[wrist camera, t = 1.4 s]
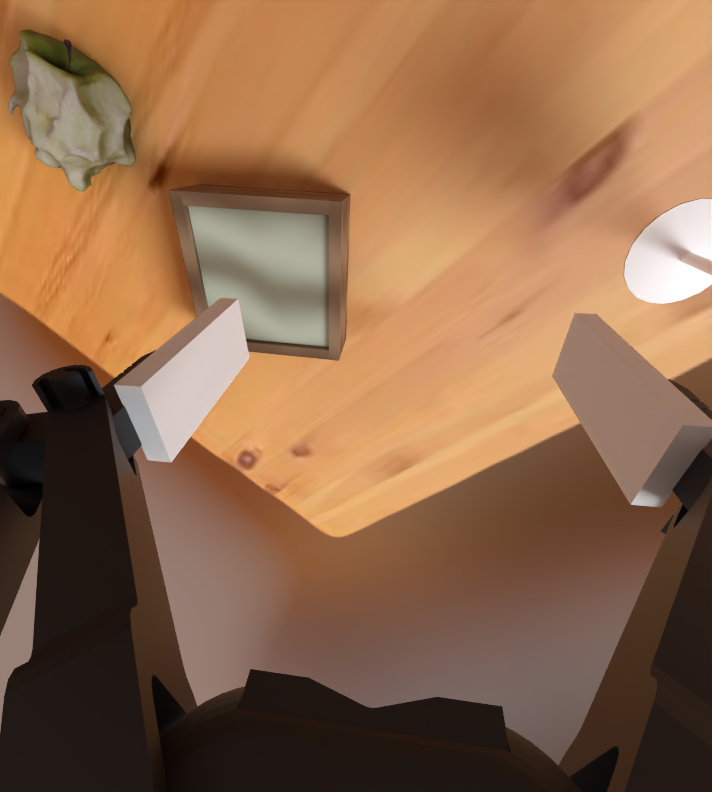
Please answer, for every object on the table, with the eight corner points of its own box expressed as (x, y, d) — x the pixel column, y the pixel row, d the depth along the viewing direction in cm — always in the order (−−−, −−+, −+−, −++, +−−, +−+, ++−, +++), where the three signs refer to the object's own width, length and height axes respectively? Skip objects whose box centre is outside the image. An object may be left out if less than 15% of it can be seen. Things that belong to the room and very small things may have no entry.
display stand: (197, 184, 33) (168, 190, 29) (350, 194, 32) (341, 201, 28) (223, 327, 41) (203, 346, 37) (345, 339, 40) (338, 360, 36)
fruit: (104, 23, 29) (42, -6, 22) (173, 159, 34) (139, 167, 28) (3, 67, 30) (-84, 51, 23) (86, 192, 35) (34, 207, 29)
